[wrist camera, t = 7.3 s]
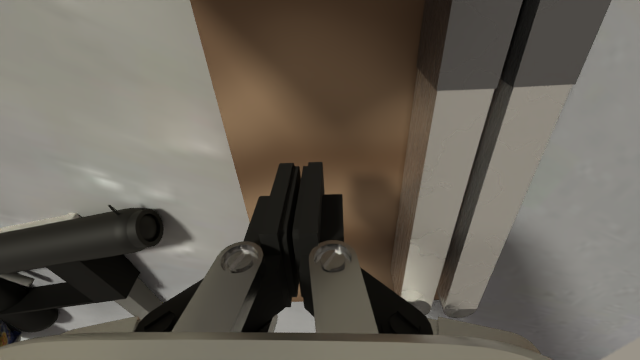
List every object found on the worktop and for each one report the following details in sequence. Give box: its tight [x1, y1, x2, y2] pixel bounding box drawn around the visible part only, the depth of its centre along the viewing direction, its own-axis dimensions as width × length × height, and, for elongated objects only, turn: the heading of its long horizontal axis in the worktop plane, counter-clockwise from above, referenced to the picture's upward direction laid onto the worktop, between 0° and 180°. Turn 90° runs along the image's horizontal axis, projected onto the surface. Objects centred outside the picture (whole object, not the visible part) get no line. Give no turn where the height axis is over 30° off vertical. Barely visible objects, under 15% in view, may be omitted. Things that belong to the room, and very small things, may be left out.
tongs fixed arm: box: [436, 0, 611, 318], centre depth 15 cm, size 20×2×3 cm, turn 4°
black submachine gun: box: [0, 205, 163, 332], centre depth 25 cm, size 3×20×16 cm
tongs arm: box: [390, 0, 523, 315], centre depth 15 cm, size 20×2×3 cm, turn 3°
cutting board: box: [190, 0, 440, 302], centre depth 17 cm, size 25×15×2 cm, turn 4°
